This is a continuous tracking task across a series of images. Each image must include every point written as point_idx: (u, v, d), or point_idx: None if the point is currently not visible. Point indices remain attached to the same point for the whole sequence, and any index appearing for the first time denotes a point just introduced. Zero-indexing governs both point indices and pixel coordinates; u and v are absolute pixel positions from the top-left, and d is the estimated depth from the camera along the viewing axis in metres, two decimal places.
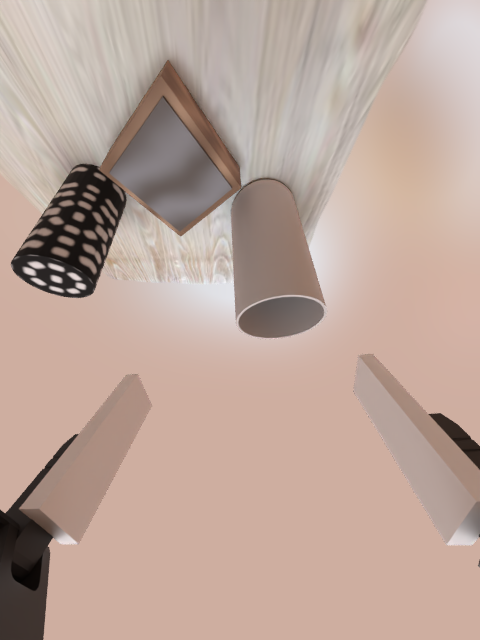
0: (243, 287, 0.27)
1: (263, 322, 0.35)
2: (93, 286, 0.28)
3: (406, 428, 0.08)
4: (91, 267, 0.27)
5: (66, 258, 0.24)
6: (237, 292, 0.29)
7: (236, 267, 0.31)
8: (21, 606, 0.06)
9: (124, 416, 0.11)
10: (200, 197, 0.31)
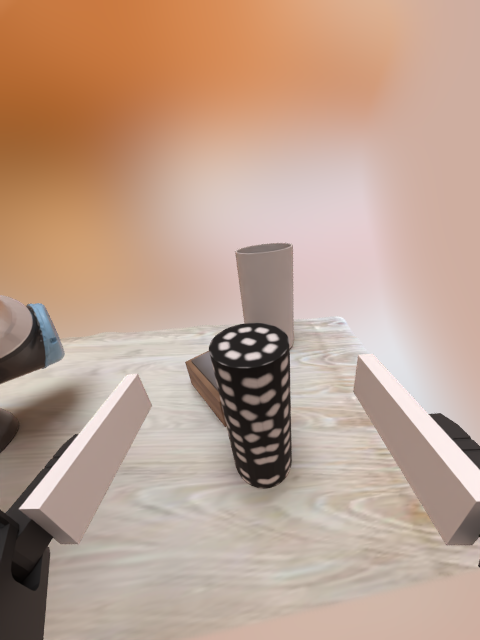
0: (249, 270, 0.42)
1: None
2: (261, 323, 0.24)
3: (406, 428, 0.08)
4: None
5: None
6: (256, 272, 0.41)
7: (258, 293, 0.43)
8: (21, 606, 0.06)
9: (124, 416, 0.11)
10: None
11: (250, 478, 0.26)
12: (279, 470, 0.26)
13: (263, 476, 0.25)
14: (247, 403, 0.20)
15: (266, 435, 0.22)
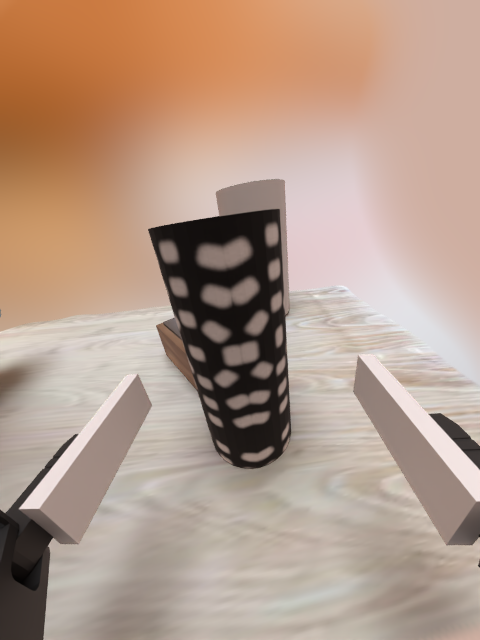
0: (232, 209, 0.34)
1: None
2: None
3: (406, 428, 0.08)
4: None
5: None
6: (241, 210, 0.34)
7: None
8: (21, 606, 0.06)
9: (124, 416, 0.11)
10: None
11: (231, 454, 0.18)
12: (273, 439, 0.17)
13: (249, 449, 0.17)
14: (211, 305, 0.11)
15: (248, 372, 0.14)
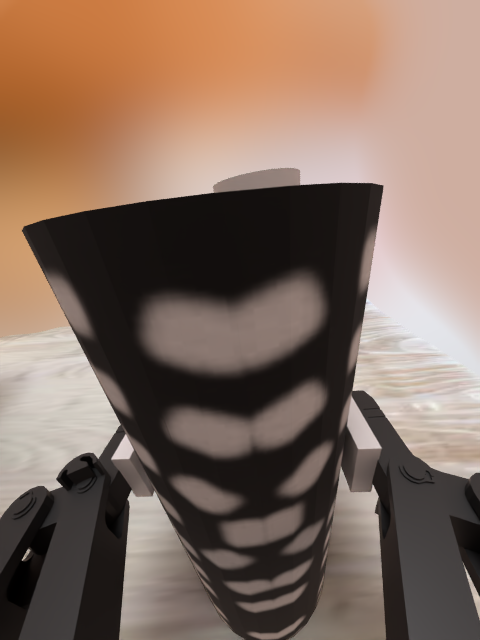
0: None
1: None
2: None
3: None
4: None
5: None
6: None
7: None
8: (110, 551, 0.06)
9: None
10: None
11: (230, 623, 0.10)
12: (305, 607, 0.10)
13: (263, 630, 0.09)
14: (193, 450, 0.04)
15: (276, 552, 0.06)
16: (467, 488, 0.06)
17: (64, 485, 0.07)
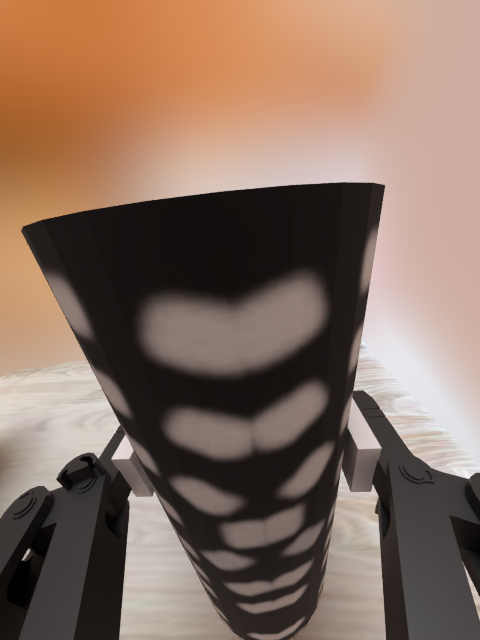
0: None
1: None
2: None
3: None
4: None
5: None
6: None
7: None
8: (110, 551, 0.06)
9: None
10: None
11: (230, 624, 0.10)
12: (306, 608, 0.10)
13: (264, 631, 0.09)
14: (192, 451, 0.04)
15: (277, 553, 0.06)
16: (467, 488, 0.06)
17: (64, 485, 0.07)
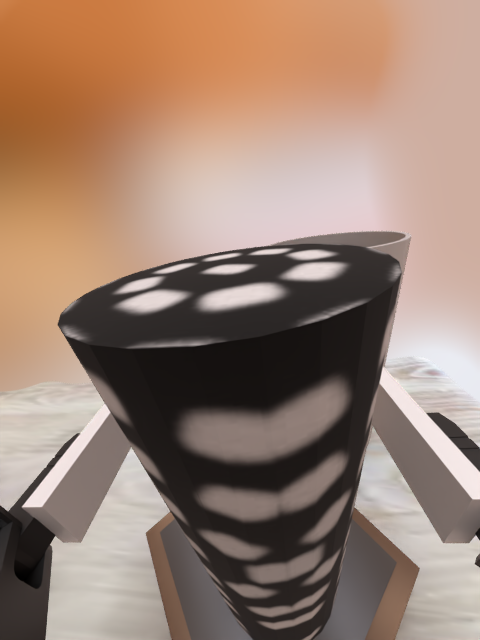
0: None
1: None
2: (268, 246, 0.09)
3: (404, 427, 0.08)
4: None
5: None
6: None
7: None
8: (24, 604, 0.06)
9: None
10: None
11: (250, 634, 0.11)
12: (322, 619, 0.10)
13: None
14: (223, 515, 0.04)
15: (297, 585, 0.07)
16: None
17: None
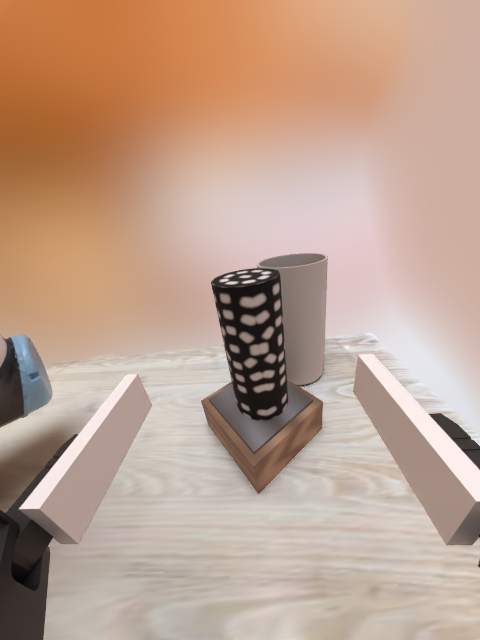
0: None
1: None
2: (257, 268, 0.28)
3: (406, 428, 0.08)
4: None
5: None
6: (286, 289, 0.34)
7: (287, 314, 0.36)
8: (21, 606, 0.06)
9: (124, 416, 0.11)
10: None
11: (250, 411, 0.29)
12: (276, 401, 0.28)
13: (262, 407, 0.28)
14: (245, 324, 0.23)
15: (263, 359, 0.25)
16: None
17: None
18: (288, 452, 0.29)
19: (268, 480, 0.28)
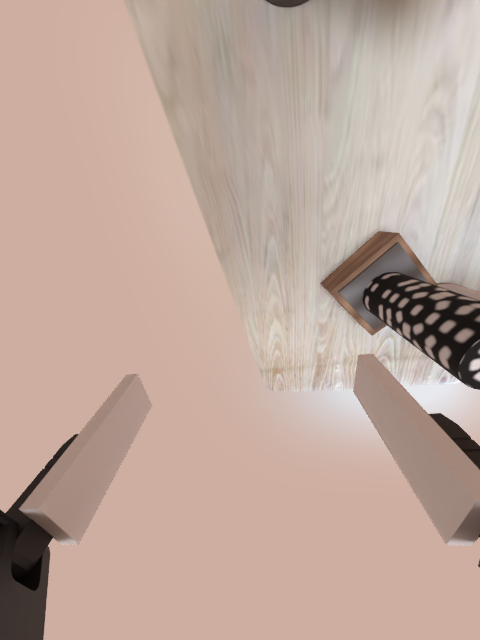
0: None
1: None
2: None
3: (406, 428, 0.08)
4: None
5: None
6: None
7: None
8: (21, 606, 0.06)
9: (124, 416, 0.11)
10: None
11: (369, 290, 0.37)
12: (372, 312, 0.37)
13: (370, 302, 0.36)
14: (428, 336, 0.24)
15: (398, 327, 0.30)
16: None
17: None
18: (341, 304, 0.44)
19: (326, 289, 0.44)
